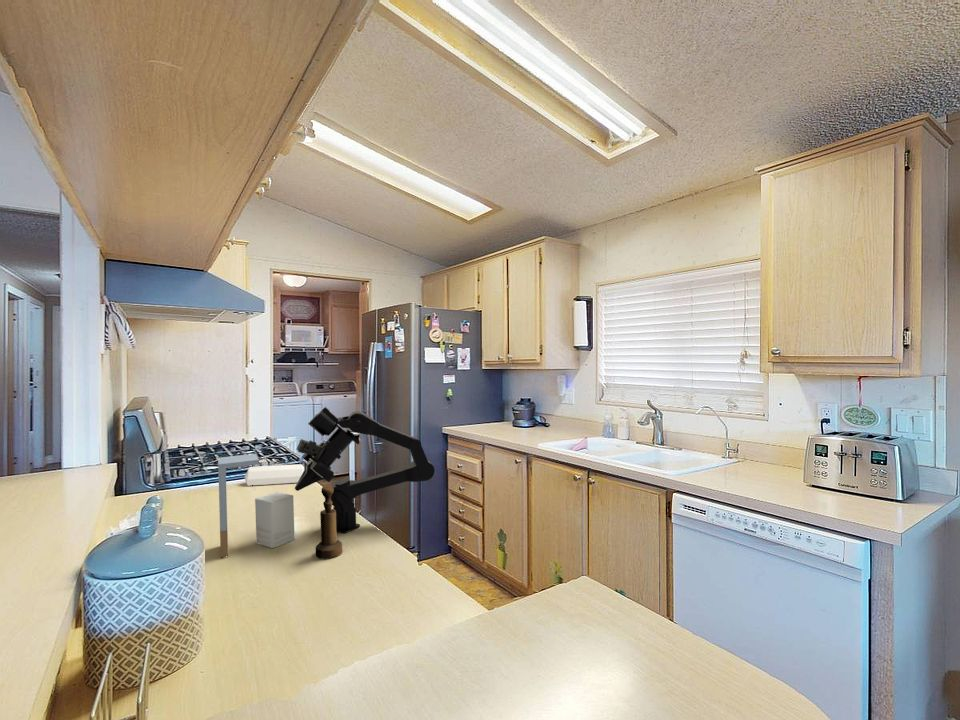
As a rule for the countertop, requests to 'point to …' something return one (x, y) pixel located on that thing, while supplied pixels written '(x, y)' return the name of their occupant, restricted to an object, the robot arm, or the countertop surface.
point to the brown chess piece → (328, 528)
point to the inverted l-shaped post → (222, 465)
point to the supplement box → (274, 519)
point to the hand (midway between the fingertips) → (295, 489)
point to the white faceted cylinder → (274, 474)
